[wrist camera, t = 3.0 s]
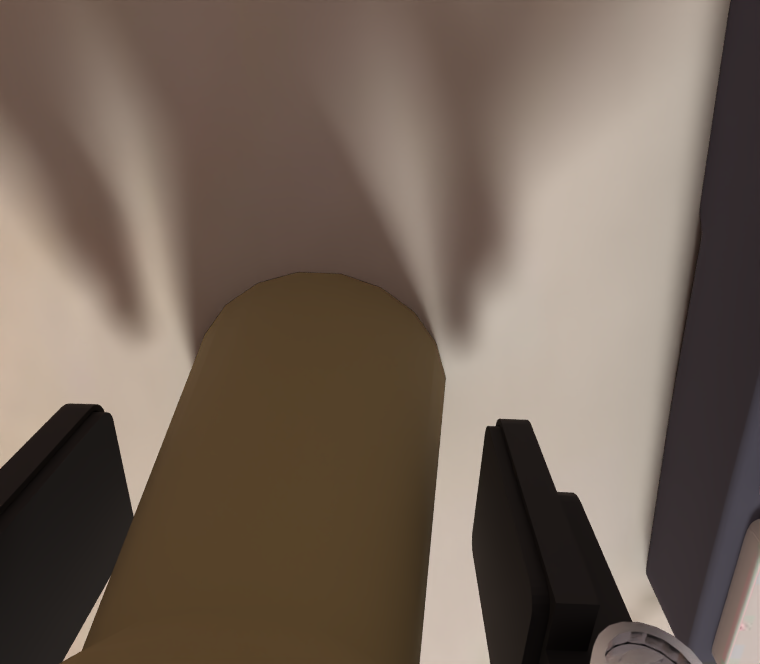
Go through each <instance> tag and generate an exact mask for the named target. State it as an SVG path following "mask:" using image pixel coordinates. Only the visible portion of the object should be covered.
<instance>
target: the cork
mask: <svg viewBox="0 0 760 664" xmlns="http://www.w3.org/2000/svg"><path fill="white" fill-rule="evenodd" d="M445 381H446V377H445V373H444V370H443V366H442V362H441V359H440V355H439V351H438V348H437V344H436V342H435V341H434V340H433V338H432V337H431V335H430V334H429V333H428V331H427V330H426V328H425V327H424V325H423V324H422V323H421V321H420V320H419V318H418V317H417V315H416V314H415V313H414V312H413V311H412V310H410V309H409V308H408V307H406V306H405V305H404V304H402V303H401V302H400V301H398V300H397V299H396V298H394V297H393V296H392V295H390V294H389V293H387V292H386V291H385V290H383V289H382V288H380V287H377V286H374V285H371V284H368V283H366V282H363V281H360V280H357V279H354V278H351V277H348V276H345V275H343V274H330V273H305V272H297V273H293V274H290V275H286V276H282V277H279V278H275V279H271V280H268V281H264V282H260V283H258V284H256V285H255V286H253V287H252V288H250V289H249V290H247V291H246V292H244V293H243V294H241V295H240V296H238V297H237V298H235V299H234V300H232V301H231V302H230V303H228V304H227V305H226V306H225V307H224V308H223V310H222V311H221V313H220V314H219V315H218V317H217V318H216V320H215V321H214V322H213V324H212V325H211V327H210V328H209V329H208V331H207V332H206V334H205V335H204V338H203V341H202V343H201V346H200V348H199V351H198V353H197V356H196V359H195V361H194V364H193V366H192V369H191V371H190V374H189V377H188V379H187V382H186V384H185V387H184V389H183V392H182V395H181V397H180V400H179V402H178V405H177V407H176V410H175V412H174V415H173V418H172V420H171V423H170V425H169V428H168V430H167V433H166V436H165V438H164V441H163V443H162V446H161V448H160V451H159V454H158V456H157V459H156V461H155V464H154V466H153V469H152V472H151V474H150V477H149V479H148V482H147V484H146V487H145V490H144V492H143V495H142V497H141V500H140V502H139V505H138V508H137V510H136V513H135V515H134V518H133V520H132V523H131V526H130V528H129V531H128V533H127V536H126V538H125V541H124V544H123V546H122V549H121V551H120V554H119V556H118V559H117V562H116V564H115V567H114V569H113V572H112V574H111V577H110V580H109V582H108V585H107V587H106V590H105V592H104V595H103V598H102V600H101V603H100V605H99V608H98V610H97V613H96V616H95V618H94V621H93V623H92V626H91V628H90V631H89V634H88V636H87V639H86V641H85V644H84V646H83V649H82V651H81V652H79V653H77V654H76V655H74V656H72V657H70V658H68V659H67V660H65V661H63V662H61V663H60V664H419V663H420V652H421V641H422V631H423V620H424V609H425V598H426V587H427V576H428V565H429V555H430V544H431V533H432V522H433V511H434V500H435V490H436V479H437V468H438V457H439V446H440V435H441V424H442V414H443V403H444V392H445Z"/></svg>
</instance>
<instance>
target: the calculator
mask: <svg viewBox="0 0 760 664" xmlns="http://www.w3.org/2000/svg"><path fill="white" fill-rule="evenodd" d="M700 218H701V228H702V236H701V243H700V249H699V254H698V260H697V265H696V271H695V276H694V282H693V287H692V293H691V299H690V304H689V310H688V315H687V321H686V326H685V332H684V337H683V343H682V348H681V354H680V359H679V365H678V370H677V376H676V381H675V387H674V392H673V398H672V403H671V409H670V415H669V421H668V428H667V434H666V441H665V447H664V454H663V461H662V467H661V474H660V480H659V487H658V493H657V500H656V507H655V514H654V520H653V527H652V534H651V541H650V547H649V554H648V561H647V568H646V574H647V577H648V579H649V581H650V584H651V586H652V588H653V590H654V592H655V595H656V597H657V599H658V601H659V603H660V605H661V607H662V610H663V612H664V614H665V616H666V618H667V620H668V623H669V625H670V627H671V629H672V631H673V633H674V635H675V637H676V638H677V639H678V640H679V641H681V642H682V643H683V644H684V645H686V646H687V647H688V648H689V649H691V651H692V652H693V653H694V654H695V655H696V656H697V658H698V659H699V660H700V661H701V662H702V663H703V664H760V0H731V3H730V8H729V14H728V20H727V27H726V33H725V40H724V47H723V54H722V60H721V67H720V74H719V81H718V87H717V94H716V101H715V108H714V114H713V121H712V128H711V135H710V141H709V148H708V155H707V162H706V168H705V175H704V182H703V189H702V196H701V203H700Z"/></svg>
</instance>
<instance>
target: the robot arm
mask: <svg viewBox="0 0 760 664" xmlns="http://www.w3.org/2000/svg"><path fill="white" fill-rule="evenodd" d="M133 518H134V516H133V511H132V507H131V502H130V497H129V492H128V488H127V483H126V478H125V473H124V469H123V464H122V459H121V454H120V450H119V445H118V440H117V435H116V431H115V426H114V421H113V418H112V416H111V414H110V413H107V412H104V409H103V408H102V407H101V406H100V405H98V404H65V405H64V406H62V407H61V408H60V409H59V410H58V411H57V412H56V413H55V414H54V415H53V416H52V417H51V418H50V419H49V420H48V421H47V422H46V423H45V424H44V425H43V426H42V427H41V428H40V429H39V430H38V431H37V432H36V433H35V434H34V435H33V436H32V437H31V438H30V439H29V440H28V441H27V443H26V444H25V445H24V446H23V447H22V448H21V449H20V450H19V451H18V452H17V453H16V454H15V455H14V456H13V457H12V458H11V459H10V460H9V461H8V462H7V463H6V464H5V465H4V466H3V467H2V468H1V469H0V664H60V663H61V662H62V661H63V660H64V658H65V656H66V654H67V653H68V651H69V649H70V647H71V645H72V644H73V642H74V640H75V638H76V637H77V635H78V633H79V631H80V629H81V628H82V626H83V624H84V622H85V621H86V619H87V617H88V615H89V613H90V612H91V610H92V608H93V606H94V605H95V603H96V601H97V599H98V598H99V596H100V594H101V592H102V590H103V589H104V587H105V585H106V583H107V582H108V580H109V578H110V576H111V574H112V572H113V569H114V567H115V564H116V562H117V559H118V556H119V554H120V551H121V549H122V546H123V544H124V541H125V538H126V536H127V533H128V531H129V528H130V526H131V523H132V520H133ZM472 551H473V558H474V564H475V570H476V577H477V583H478V589H479V595H480V602H481V608H482V614H483V620H484V626H485V633H486V639H487V645H488V651H489V658H490V664H703V663H702V662H701V661H700V660H699V659H698V658H697V656H696V655H695V654H694V653H693V652H692V651H691V649H689V648H688V647H687V646H686V645H684V644H683V643H682V642H681V641H679V640H678V639H677V638H676V637H674V636H672V635H670V634H669V633H667V632H665V631H663V630H661V629H659V628H657V627H654V626H651V625H647V624H644V623H640V622H632V620H631V618H630V615H629V613H628V611H627V608H626V606H625V604H624V601H623V599H622V597H621V595H620V592H619V590H618V588H617V585H616V583H615V581H614V578H613V576H612V574H611V571H610V569H609V567H608V564H607V562H606V560H605V557H604V555H603V553H602V550H601V548H600V546H599V543H598V541H597V539H596V536H595V534H594V532H593V529H592V527H591V525H590V522H589V520H588V518H587V516H586V513H585V511H584V509H583V506H582V504H581V502H580V500H579V498H578V496H577V495H576V494H574V493H568V492H557V491H556V488H555V486H554V483H553V481H552V478H551V475H550V473H549V470H548V467H547V465H546V462H545V460H544V457H543V454H542V452H541V449H540V447H539V444H538V441H537V439H536V436H535V434H534V431H533V428H532V426H531V423H530V422H529V421H528V420H516V419H498V420H497V423H496V426H487V428H486V431H485V438H484V446H483V454H482V462H481V470H480V477H479V485H478V493H477V501H476V509H475V517H474V524H473V532H472Z"/></svg>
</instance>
